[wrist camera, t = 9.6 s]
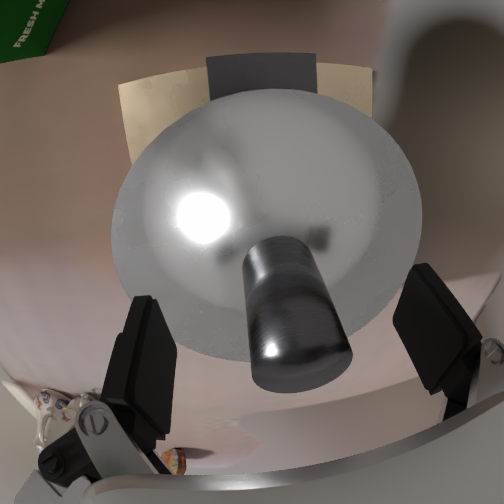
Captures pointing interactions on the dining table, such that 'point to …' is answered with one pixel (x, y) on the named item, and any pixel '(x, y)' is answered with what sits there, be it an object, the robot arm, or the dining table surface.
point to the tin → (175, 460)
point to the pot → (233, 88)
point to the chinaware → (55, 415)
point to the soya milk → (27, 27)
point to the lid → (269, 231)
